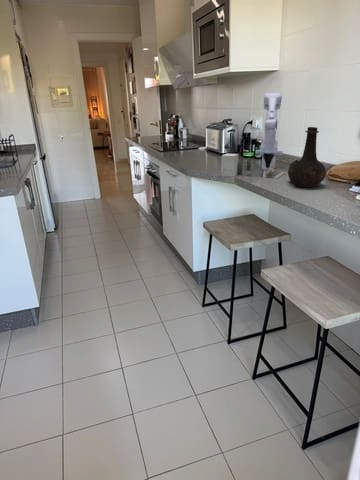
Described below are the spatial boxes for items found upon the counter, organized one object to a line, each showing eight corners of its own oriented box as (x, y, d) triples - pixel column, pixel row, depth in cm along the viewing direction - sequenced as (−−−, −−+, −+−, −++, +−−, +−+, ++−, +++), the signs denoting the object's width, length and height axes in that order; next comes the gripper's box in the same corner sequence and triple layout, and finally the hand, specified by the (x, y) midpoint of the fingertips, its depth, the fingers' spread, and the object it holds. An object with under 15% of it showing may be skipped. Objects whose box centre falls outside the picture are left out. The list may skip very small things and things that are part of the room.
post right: (247, 171, 206) (247, 158, 203) (250, 171, 205) (251, 158, 202) (245, 172, 204) (246, 158, 201) (249, 172, 203) (250, 159, 200)
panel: (255, 172, 203) (255, 165, 202) (285, 174, 195) (286, 167, 193) (245, 178, 190) (245, 170, 188) (277, 180, 181) (278, 173, 180)
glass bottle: (294, 179, 183) (300, 125, 172) (329, 184, 172) (337, 126, 161) (280, 186, 170) (286, 127, 159) (316, 191, 159) (325, 129, 149)
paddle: (267, 171, 193) (273, 165, 190) (268, 173, 193) (275, 166, 190) (265, 172, 190) (271, 166, 187) (267, 174, 190) (273, 167, 187)
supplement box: (238, 176, 194) (239, 153, 190) (233, 178, 189) (234, 155, 184) (226, 175, 198) (226, 153, 193) (221, 177, 192) (221, 155, 187)
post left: (238, 176, 195) (239, 162, 192) (242, 176, 194) (243, 162, 191) (237, 176, 193) (237, 162, 190) (241, 177, 192) (241, 163, 189)
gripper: (254, 142, 185) (252, 167, 190) (281, 143, 178) (278, 169, 184) (258, 141, 191) (256, 165, 196) (284, 142, 184) (282, 167, 189)
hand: (267, 167), depth 190 cm, fingers closed
